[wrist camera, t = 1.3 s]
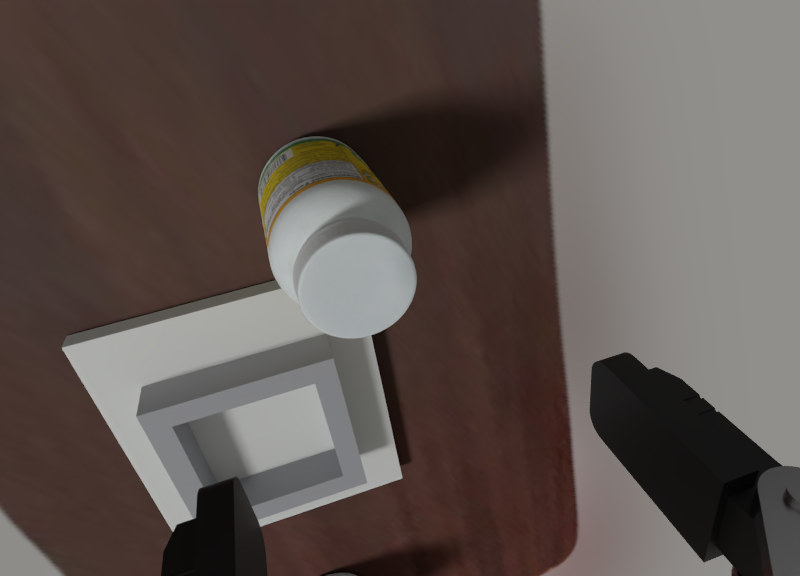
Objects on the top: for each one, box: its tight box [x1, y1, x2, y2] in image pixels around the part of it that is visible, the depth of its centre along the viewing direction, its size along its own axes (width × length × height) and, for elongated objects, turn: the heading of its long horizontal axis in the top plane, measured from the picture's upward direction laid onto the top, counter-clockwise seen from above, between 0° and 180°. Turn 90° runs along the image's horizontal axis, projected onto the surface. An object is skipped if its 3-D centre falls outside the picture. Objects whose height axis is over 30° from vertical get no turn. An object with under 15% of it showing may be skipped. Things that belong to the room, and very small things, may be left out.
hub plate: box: [62, 280, 402, 532], centre depth 30 cm, size 16×14×3 cm
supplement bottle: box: [258, 136, 417, 339], centre depth 22 cm, size 5×5×10 cm
